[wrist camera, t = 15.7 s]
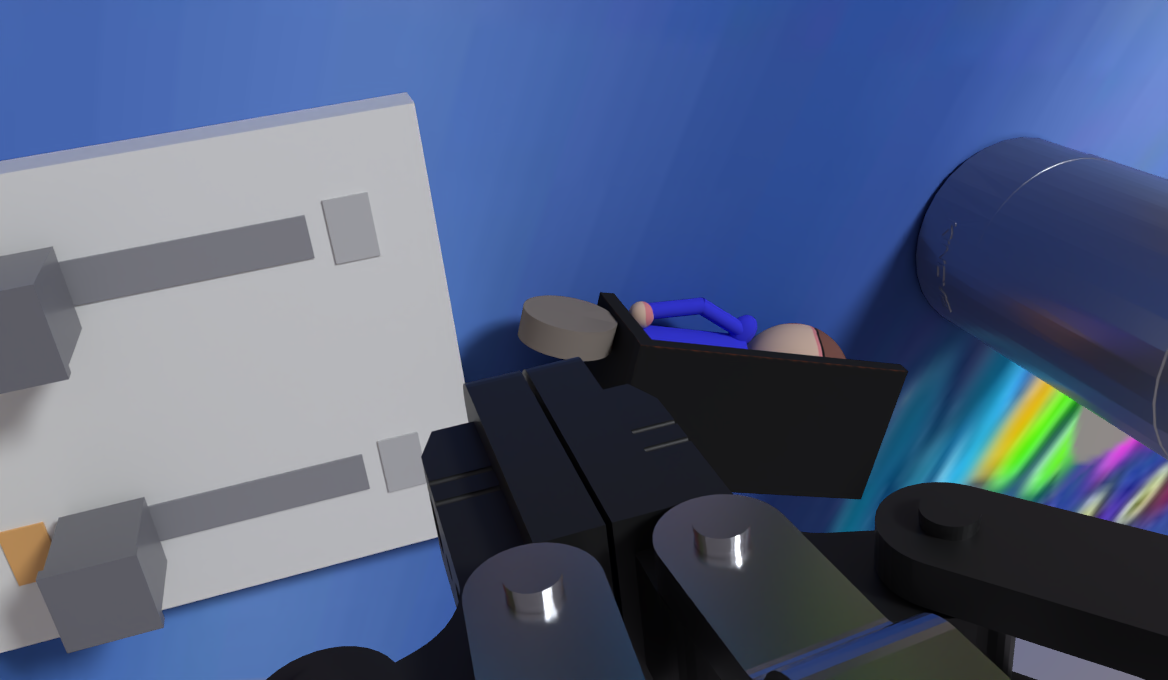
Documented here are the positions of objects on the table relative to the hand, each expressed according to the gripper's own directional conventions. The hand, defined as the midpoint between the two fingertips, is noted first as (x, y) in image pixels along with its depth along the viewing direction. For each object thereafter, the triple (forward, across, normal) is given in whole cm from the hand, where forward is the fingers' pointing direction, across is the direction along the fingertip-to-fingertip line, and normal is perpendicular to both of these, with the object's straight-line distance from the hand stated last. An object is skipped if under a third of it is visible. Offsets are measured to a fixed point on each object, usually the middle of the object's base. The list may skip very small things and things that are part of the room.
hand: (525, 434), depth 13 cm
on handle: (+25, +12, +15) cm, 31 cm away
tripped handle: (+25, +12, +5) cm, 28 cm away
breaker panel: (+27, +8, +10) cm, 30 cm away
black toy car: (+27, -11, +14) cm, 33 cm away
